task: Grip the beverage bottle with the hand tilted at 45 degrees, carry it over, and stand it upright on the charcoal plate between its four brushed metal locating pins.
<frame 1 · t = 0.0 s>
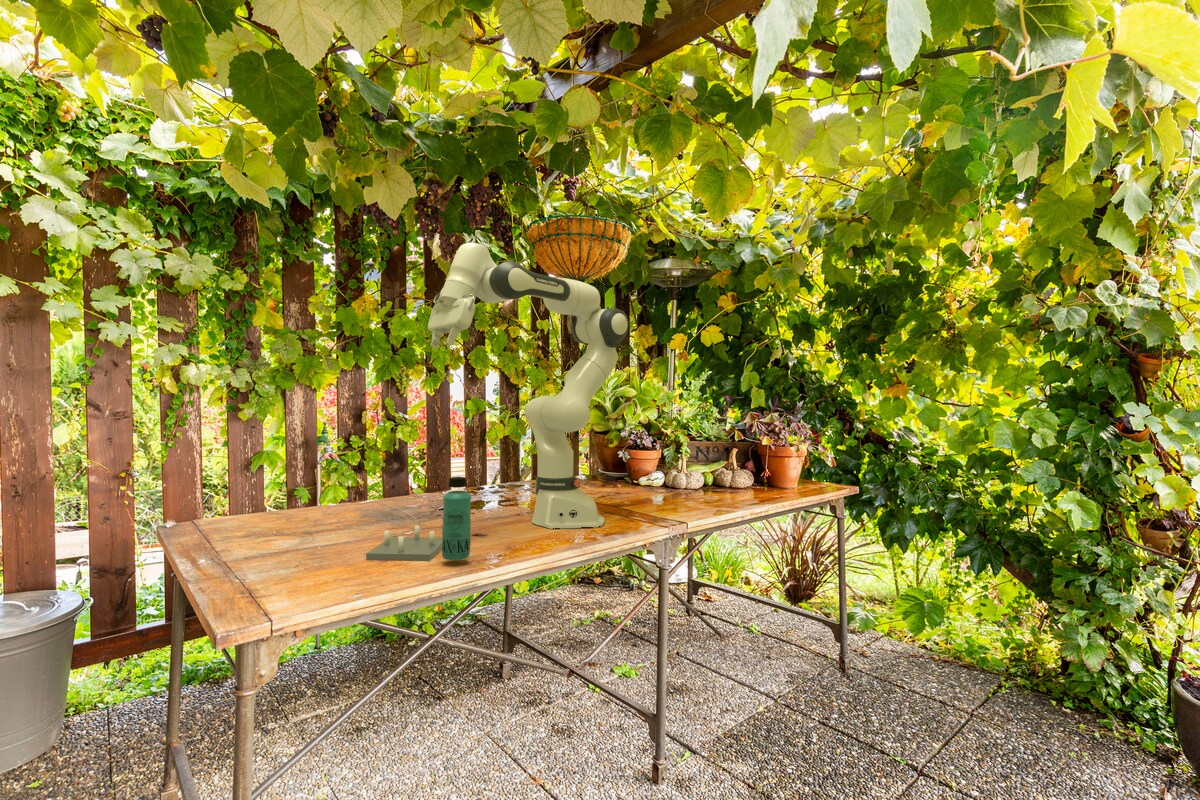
hand: (441, 345, 146), 52 cm above the table, tool tilted 20°, fingers open, 8 cm apart
pin plate: (409, 551, 137), on the table
beverage bottle: (456, 563, 128), on the table
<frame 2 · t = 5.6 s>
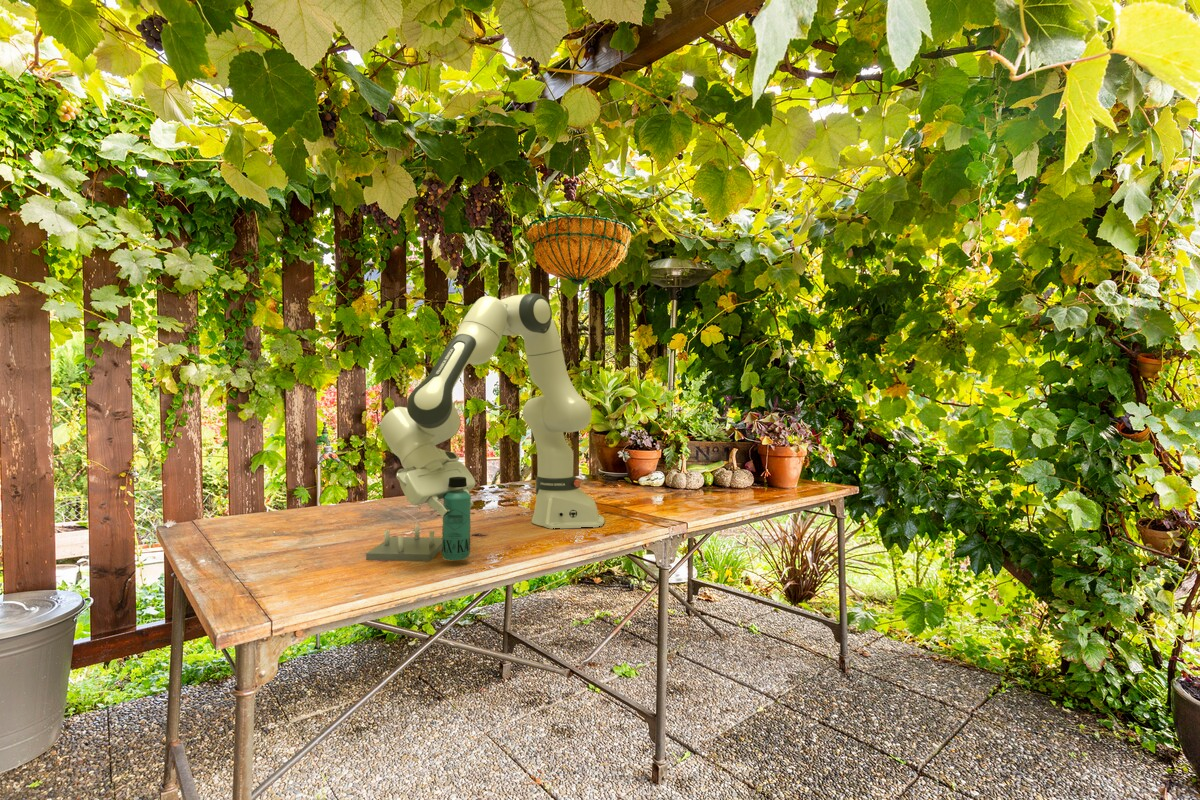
hand: (458, 510, 128), 12 cm above the table, tool tilted 45°, fingers open, 7 cm apart
beverage bottle: (456, 563, 128), on the table, touching gripper
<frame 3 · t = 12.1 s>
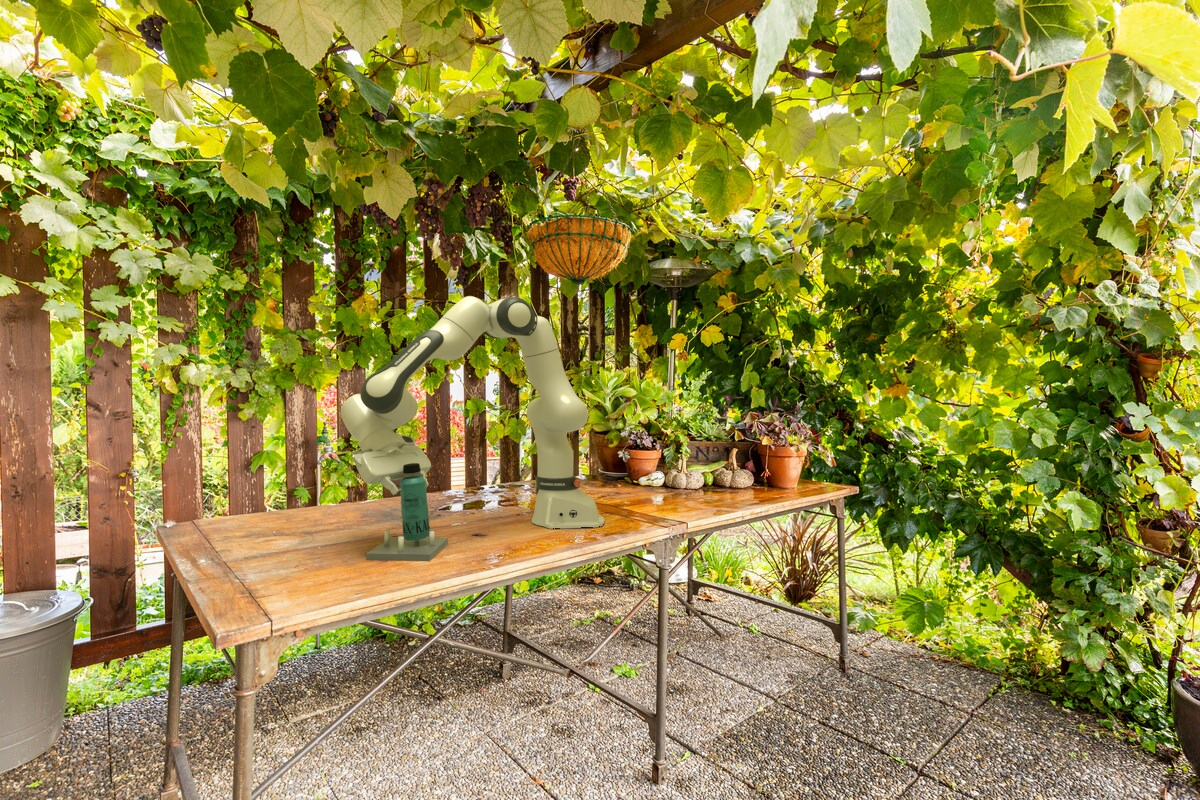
hand: (411, 489, 137), 15 cm above the table, tool tilted 45°, fingers open, 8 cm apart
beverage bottle: (418, 543, 139), point 2 cm above the table, touching gripper, pin plate
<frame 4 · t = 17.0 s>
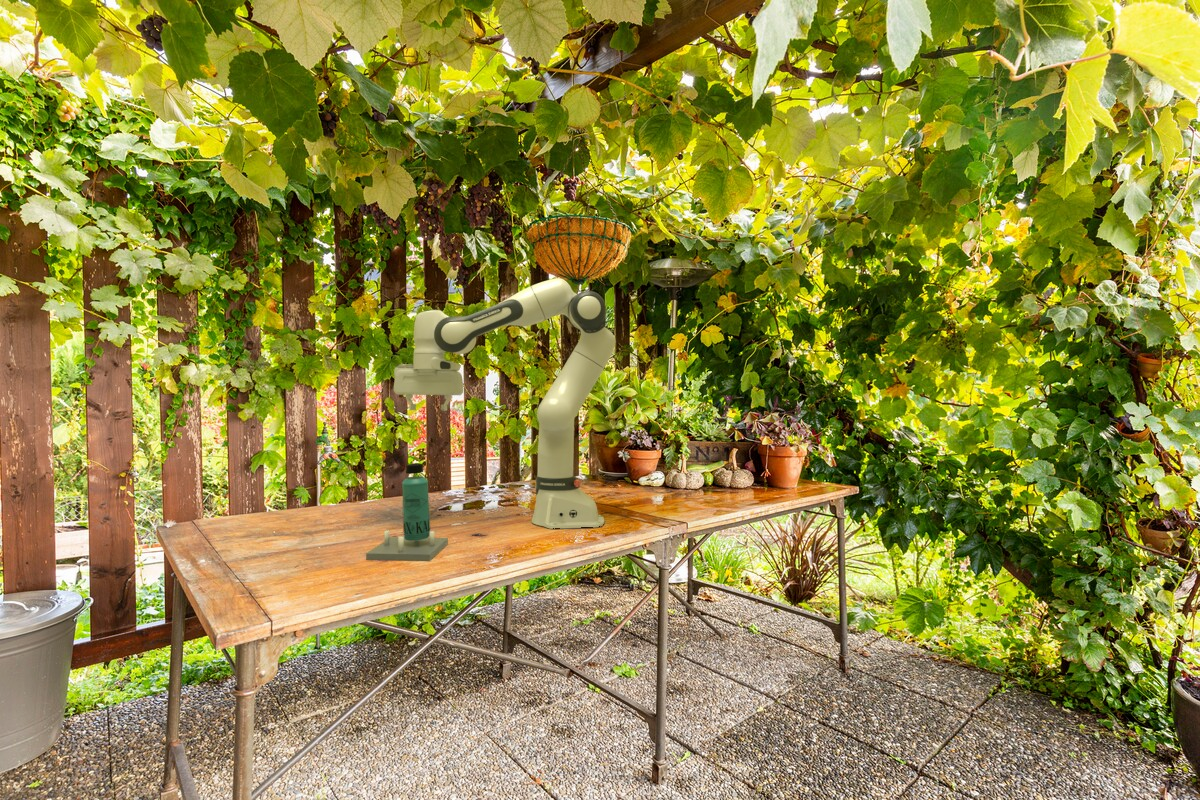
hand: (428, 410, 166), 34 cm above the table, tool pointing down, fingers open, 8 cm apart
beverage bottle: (418, 543, 139), point 2 cm above the table, touching pin plate
at the end: beverage bottle 2.2 cm off-centre on the pin plate, point 1.3 cm above the pin plate's base; beverage bottle tilted 1°; the gripper is holding nothing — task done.
